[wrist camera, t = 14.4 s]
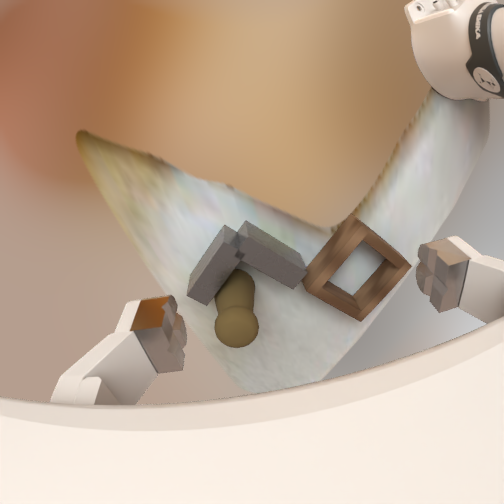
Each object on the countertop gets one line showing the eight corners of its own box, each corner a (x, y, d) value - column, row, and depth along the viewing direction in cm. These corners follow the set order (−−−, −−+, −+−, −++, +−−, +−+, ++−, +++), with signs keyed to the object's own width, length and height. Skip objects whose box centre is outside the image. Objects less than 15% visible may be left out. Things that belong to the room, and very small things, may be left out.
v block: (177, 234, 40) (171, 252, 35) (294, 210, 39) (302, 226, 35) (194, 287, 44) (191, 308, 39) (301, 266, 43) (309, 286, 39)
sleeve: (350, 213, 40) (362, 224, 36) (399, 253, 44) (411, 266, 40) (299, 275, 44) (305, 291, 40) (352, 306, 48) (360, 321, 44)
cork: (248, 308, 46) (254, 358, 35) (208, 300, 44) (205, 350, 34) (260, 274, 43) (271, 320, 33) (218, 264, 42) (217, 309, 32)
